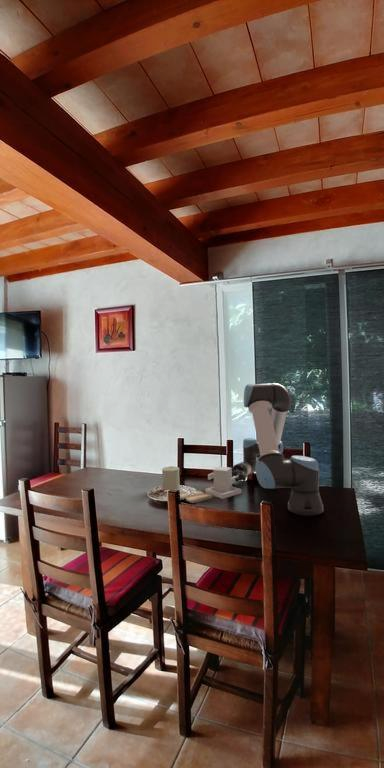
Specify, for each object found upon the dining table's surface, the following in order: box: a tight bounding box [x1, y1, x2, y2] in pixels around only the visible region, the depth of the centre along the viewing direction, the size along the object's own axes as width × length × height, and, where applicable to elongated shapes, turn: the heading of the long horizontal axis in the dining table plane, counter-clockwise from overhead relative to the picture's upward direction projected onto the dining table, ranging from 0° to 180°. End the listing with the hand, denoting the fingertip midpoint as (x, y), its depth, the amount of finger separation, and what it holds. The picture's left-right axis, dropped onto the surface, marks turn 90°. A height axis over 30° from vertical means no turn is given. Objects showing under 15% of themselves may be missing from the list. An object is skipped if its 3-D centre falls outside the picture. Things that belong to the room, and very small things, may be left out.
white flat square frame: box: [204, 485, 242, 500], centre depth 202 cm, size 13×13×2 cm
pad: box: [179, 489, 213, 504], centre depth 196 cm, size 12×12×1 cm
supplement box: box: [212, 466, 233, 493], centre depth 201 cm, size 7×7×13 cm
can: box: [161, 466, 181, 493], centre depth 209 cm, size 9×9×12 cm
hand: (219, 479), depth 199 cm, fingers open, 13 cm apart
